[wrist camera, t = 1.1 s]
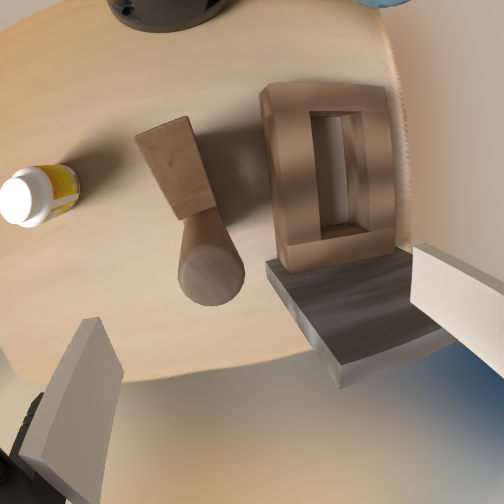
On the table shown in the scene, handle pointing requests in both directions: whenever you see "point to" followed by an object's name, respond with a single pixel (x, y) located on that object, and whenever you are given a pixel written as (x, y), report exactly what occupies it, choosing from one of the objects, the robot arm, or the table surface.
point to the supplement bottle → (39, 194)
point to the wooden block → (193, 214)
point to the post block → (342, 235)
